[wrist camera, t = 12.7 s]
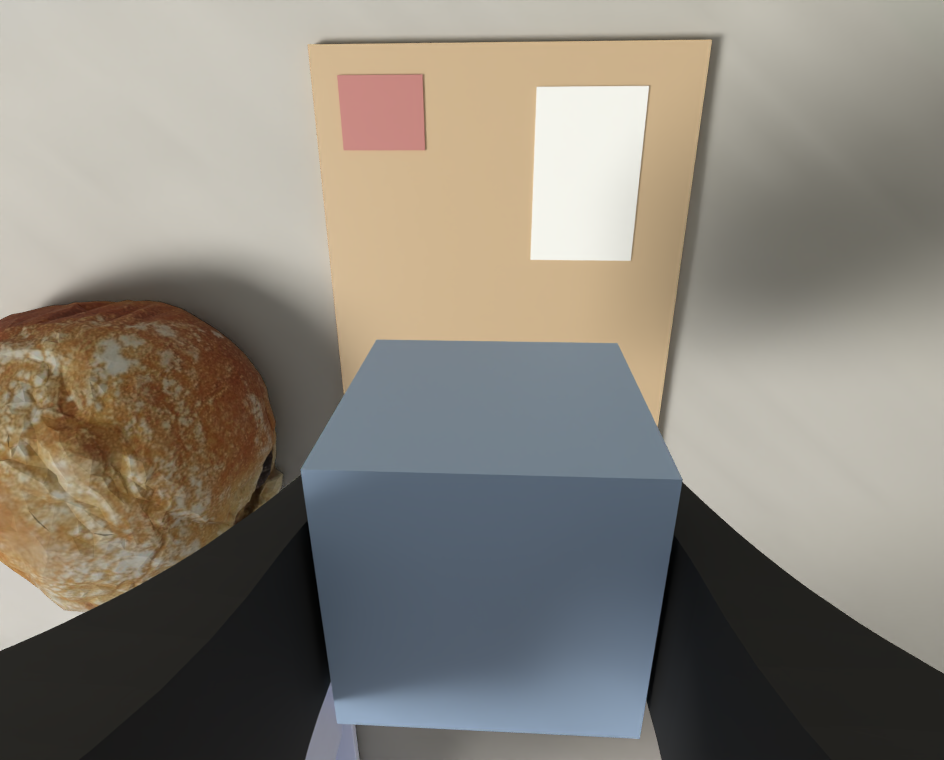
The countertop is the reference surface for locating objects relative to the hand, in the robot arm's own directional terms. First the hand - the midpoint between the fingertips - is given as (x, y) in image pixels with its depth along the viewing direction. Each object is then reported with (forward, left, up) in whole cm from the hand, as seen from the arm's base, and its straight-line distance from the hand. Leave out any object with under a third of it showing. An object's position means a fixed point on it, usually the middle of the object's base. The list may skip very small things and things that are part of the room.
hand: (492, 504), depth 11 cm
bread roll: (-3, +12, -9) cm, 16 cm away
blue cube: (0, 0, -2) cm, 2 cm away
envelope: (0, 0, -8) cm, 8 cm away
